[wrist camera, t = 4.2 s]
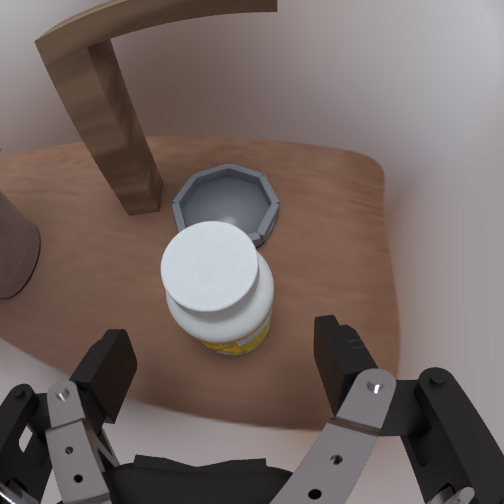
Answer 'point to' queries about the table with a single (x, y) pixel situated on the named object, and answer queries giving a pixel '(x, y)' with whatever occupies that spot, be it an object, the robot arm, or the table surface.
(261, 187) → the locator ring
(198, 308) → the supplement bottle
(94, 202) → the table surface
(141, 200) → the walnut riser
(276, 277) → the table surface
